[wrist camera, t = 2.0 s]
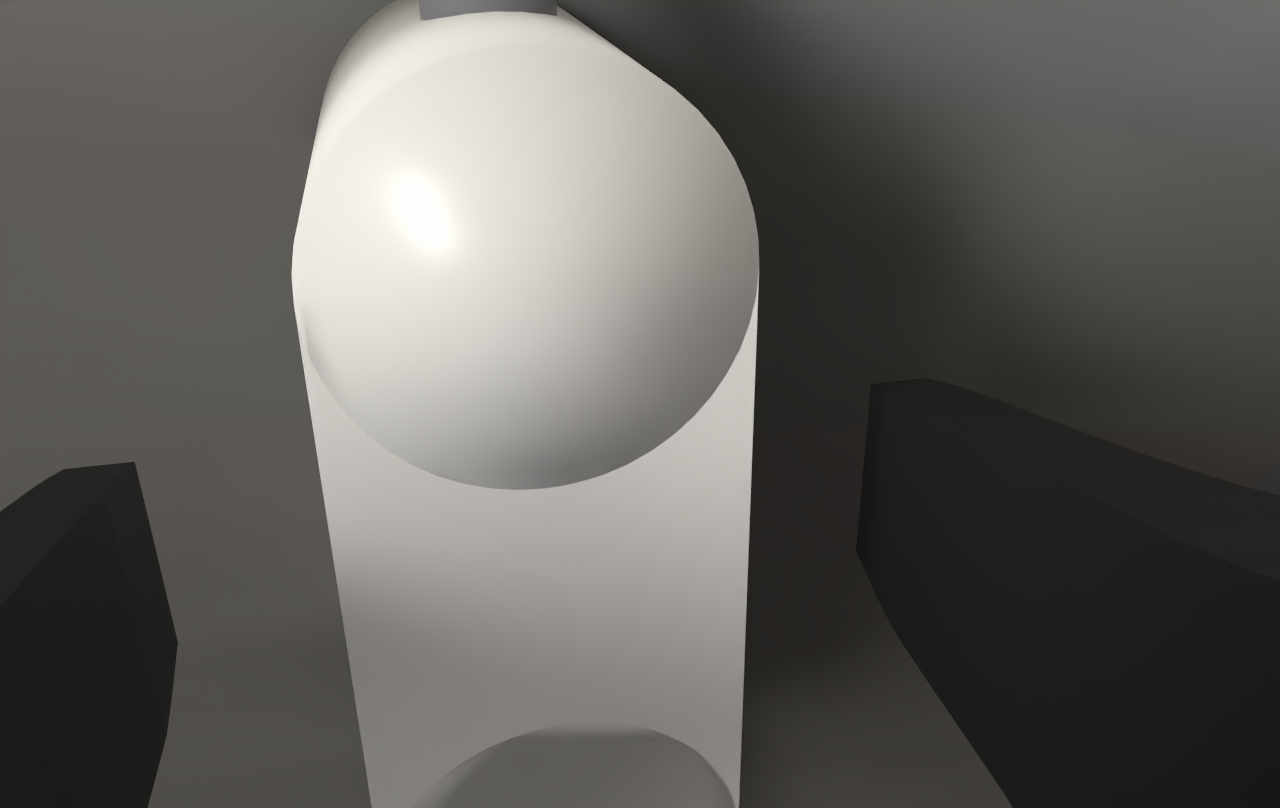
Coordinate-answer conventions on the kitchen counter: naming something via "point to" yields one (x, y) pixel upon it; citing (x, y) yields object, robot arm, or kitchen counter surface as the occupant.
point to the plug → (530, 411)
